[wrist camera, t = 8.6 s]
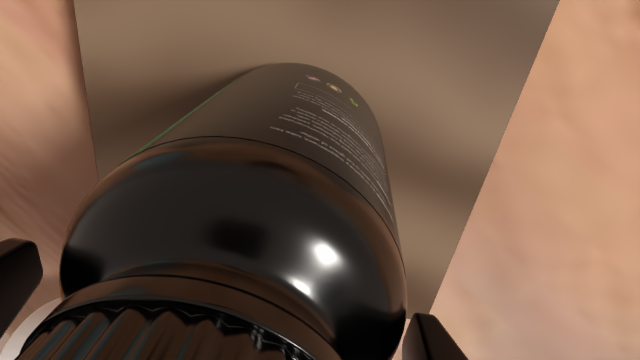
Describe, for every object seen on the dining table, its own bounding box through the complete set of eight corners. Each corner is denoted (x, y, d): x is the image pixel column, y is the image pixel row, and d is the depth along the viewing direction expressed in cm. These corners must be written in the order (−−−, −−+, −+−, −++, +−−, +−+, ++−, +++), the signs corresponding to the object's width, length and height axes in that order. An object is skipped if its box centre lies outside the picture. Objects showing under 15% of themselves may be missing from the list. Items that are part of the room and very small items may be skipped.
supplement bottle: (186, 78, 14) (-372, 368, 3) (368, 41, 13) (425, 298, 2) (240, 229, 17) (39, 640, 6) (392, 209, 16) (466, 673, 5)
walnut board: (419, 292, 20) (425, 321, 19) (131, 239, 20) (109, 263, 19) (549, -46, 13) (580, -51, 11) (94, -128, 13) (53, -147, 11)
